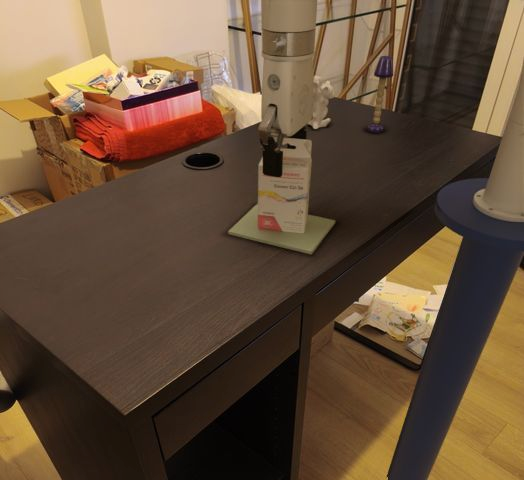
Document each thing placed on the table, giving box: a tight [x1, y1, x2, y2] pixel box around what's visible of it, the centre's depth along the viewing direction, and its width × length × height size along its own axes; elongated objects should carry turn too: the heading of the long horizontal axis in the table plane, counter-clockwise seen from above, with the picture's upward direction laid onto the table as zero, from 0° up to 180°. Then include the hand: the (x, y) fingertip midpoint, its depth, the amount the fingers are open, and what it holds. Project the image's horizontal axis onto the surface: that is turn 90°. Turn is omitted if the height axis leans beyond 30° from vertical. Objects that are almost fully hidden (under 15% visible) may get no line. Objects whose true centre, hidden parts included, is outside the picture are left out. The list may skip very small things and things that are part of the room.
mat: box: [227, 203, 336, 255], centre depth 87 cm, size 16×12×1 cm
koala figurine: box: [308, 75, 336, 130], centre depth 123 cm, size 8×7×12 cm
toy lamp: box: [366, 55, 394, 134], centre depth 119 cm, size 5×5×17 cm
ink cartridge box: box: [257, 136, 313, 233], centre depth 81 cm, size 9×5×15 cm, turn 79°
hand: (284, 164), depth 79 cm, fingers open, 9 cm apart
